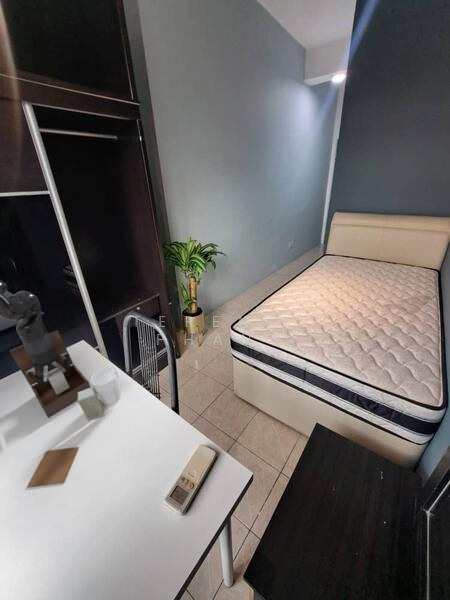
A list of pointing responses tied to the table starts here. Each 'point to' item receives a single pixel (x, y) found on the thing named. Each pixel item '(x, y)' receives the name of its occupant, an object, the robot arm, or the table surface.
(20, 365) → the lid
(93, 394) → the box
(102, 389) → the cup
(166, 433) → the table surface
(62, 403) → the chest
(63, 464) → the pad
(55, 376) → the light grey block
